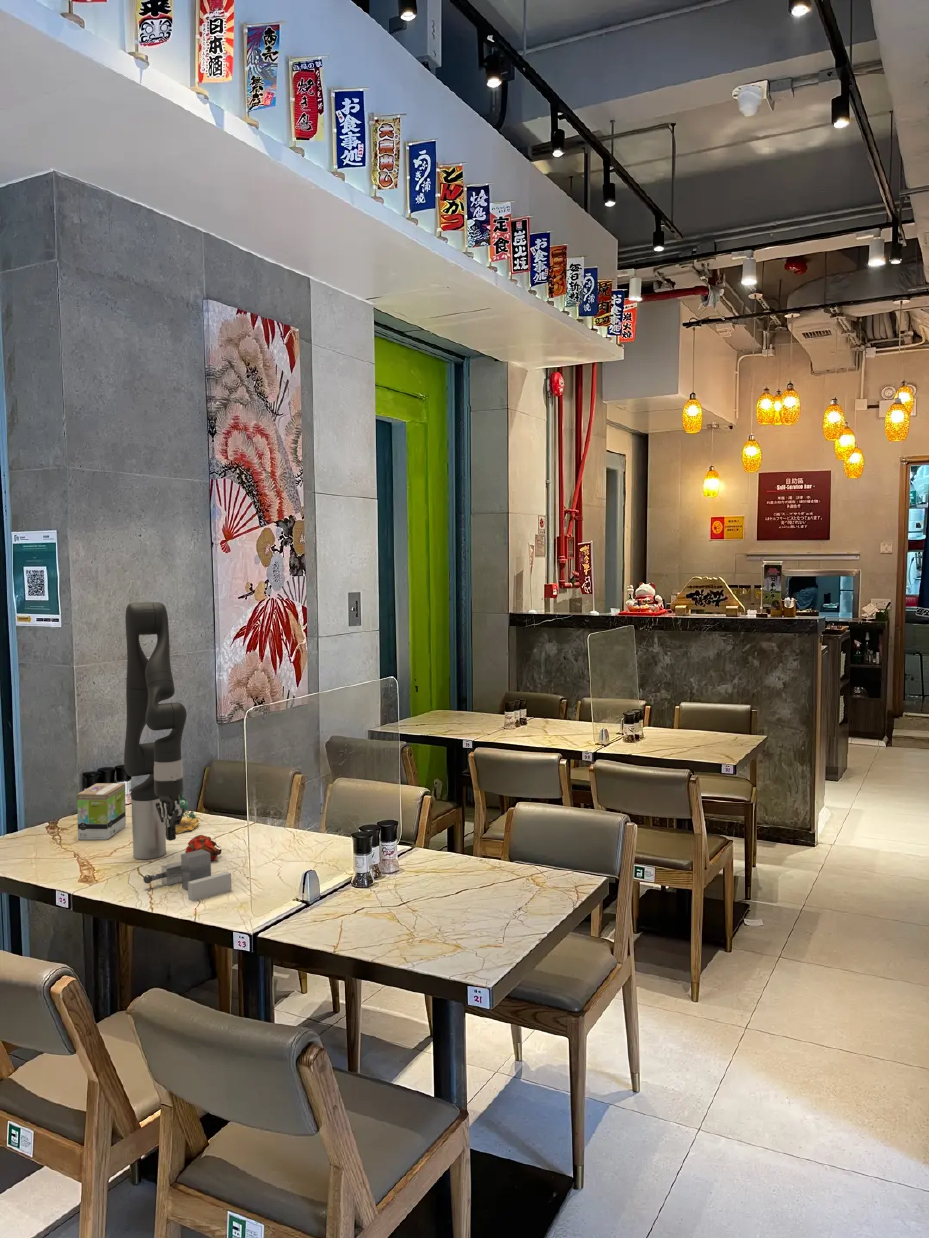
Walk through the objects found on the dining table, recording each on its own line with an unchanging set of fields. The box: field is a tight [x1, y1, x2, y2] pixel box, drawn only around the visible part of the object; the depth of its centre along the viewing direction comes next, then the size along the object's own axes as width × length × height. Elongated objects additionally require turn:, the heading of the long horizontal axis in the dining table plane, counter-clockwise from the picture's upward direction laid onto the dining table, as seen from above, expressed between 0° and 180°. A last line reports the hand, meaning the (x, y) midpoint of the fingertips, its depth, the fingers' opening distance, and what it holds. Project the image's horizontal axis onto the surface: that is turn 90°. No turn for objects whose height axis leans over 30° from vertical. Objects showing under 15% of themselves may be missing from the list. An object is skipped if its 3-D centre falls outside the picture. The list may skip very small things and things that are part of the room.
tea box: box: [76, 782, 127, 841], centre depth 300 cm, size 15×10×15 cm
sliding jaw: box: [143, 861, 182, 886], centre depth 250 cm, size 3×16×4 cm, turn 133°
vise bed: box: [187, 871, 232, 902], centre depth 248 cm, size 22×11×6 cm, turn 43°
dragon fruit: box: [184, 834, 223, 862], centre depth 270 cm, size 8×8×12 cm
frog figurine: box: [165, 792, 200, 835], centre depth 303 cm, size 10×18×15 cm, turn 153°
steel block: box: [180, 849, 212, 892], centre depth 246 cm, size 4×6×9 cm
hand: (171, 839), depth 255 cm, fingers closed
